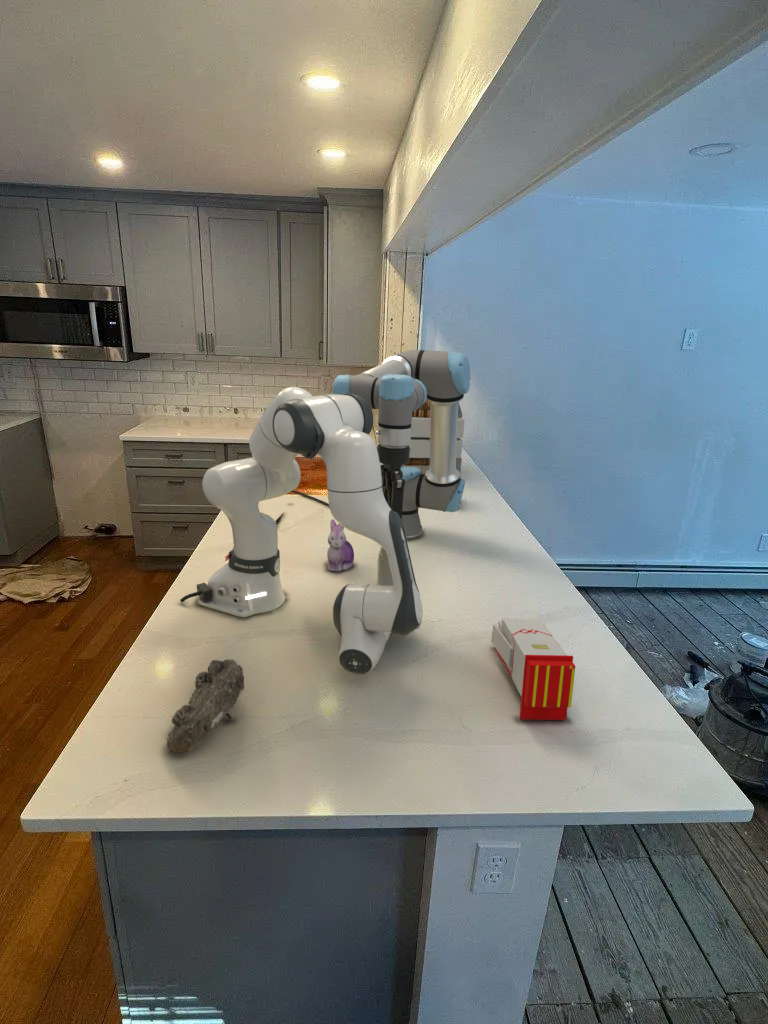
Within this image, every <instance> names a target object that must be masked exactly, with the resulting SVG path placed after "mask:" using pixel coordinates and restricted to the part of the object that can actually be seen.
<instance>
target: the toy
mask: <svg viewBox="0 0 768 1024" xmlns="http://www.w3.org/2000/svg"><path fill="white" fill-rule="evenodd" d="M490 638H491V639H490V642H491V644H492V646H493V647H494V650H495V652H496V654H497V655H498V657H499V659H500V660H501V662H502V664H503V666H504V667H505V669H506V671H507V672H508V674H509V676H510V677H511V679H512V681H513V683H514V685H515V688H516V690H517V691H518V693H519V695H520V697H521V698H520V710H519V719H520V720H534V721H535V720H539V721H567V716H568V708H572V701H573V692H574V684H575V674H576V673H575V672H576V665H575V663H574V656H573V655H568V654H567V653H566V652H565V650H564V649H563V648H562V646H561V645H560V644H559V643H558V641H557V640H556V639H555V637H554V636H553V634H552V633H551V632H550V631H549V629H548V628H547V626H546V624H545V623H543V621H542V620H541V619H540V618H505V617H503V618H501V620H498V622H497V624H495V623H493V624H492V632H491V637H490Z"/></svg>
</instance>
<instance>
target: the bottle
mask: <svg viewBox="0 0 768 1024" xmlns="http://www.w3.org/2000/svg"><path fill="white" fill-rule="evenodd" d="M376 572H377V573H376V576H377V577H376V585H386V586H394V583H393V578H392V574H391V569H390V565H389V560H388V556H387V553H386V551H385V550H384V548H383V547H382V546H381V545H380V549H379V552H378V557H377V571H376Z"/></svg>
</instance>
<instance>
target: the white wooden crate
mask: <svg viewBox="0 0 768 1024" xmlns="http://www.w3.org/2000/svg"><path fill="white" fill-rule="evenodd" d="M464 429H465V419H464V418H463V411H462V408H461V405H460V402H459V403H458V426H457V450H456V469H457V470H458V471H459V472H460V475H461V472H462V461H463V460H462V453H463V442H464V441H463V440H462V439H463V438H464V431H465V430H464ZM408 446H409V447H410V457H409V462H408V463H406V464H403V465H401V468H402V467H405V466H406V467H417V466H418V467H430V401H429V400H427V399H426V401H425V402H424V404H423V405H422V406H421V407H420V409H418V410H416V411H413V412H412V421H411V443H410V444H409V445H408Z"/></svg>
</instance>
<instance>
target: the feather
mask: <svg viewBox="0 0 768 1024" xmlns="http://www.w3.org/2000/svg"><path fill="white" fill-rule="evenodd" d="M290 505H291V503H290ZM284 514H285V512H283V513H282V514H281V515H279V516H278V518H277V519H276V520H274V521H275V522H276V524H277V525H279V522H280V521H281V519H282V517H283V515H284Z"/></svg>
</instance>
